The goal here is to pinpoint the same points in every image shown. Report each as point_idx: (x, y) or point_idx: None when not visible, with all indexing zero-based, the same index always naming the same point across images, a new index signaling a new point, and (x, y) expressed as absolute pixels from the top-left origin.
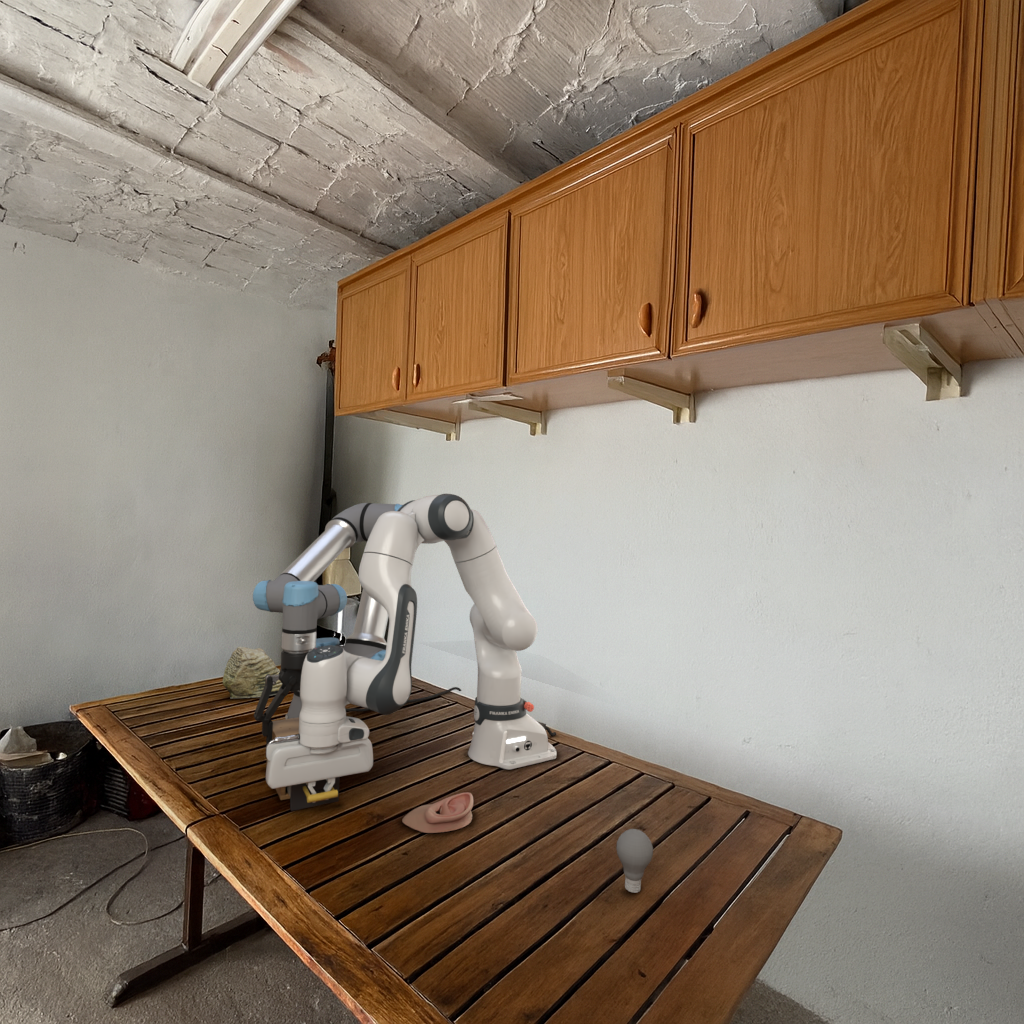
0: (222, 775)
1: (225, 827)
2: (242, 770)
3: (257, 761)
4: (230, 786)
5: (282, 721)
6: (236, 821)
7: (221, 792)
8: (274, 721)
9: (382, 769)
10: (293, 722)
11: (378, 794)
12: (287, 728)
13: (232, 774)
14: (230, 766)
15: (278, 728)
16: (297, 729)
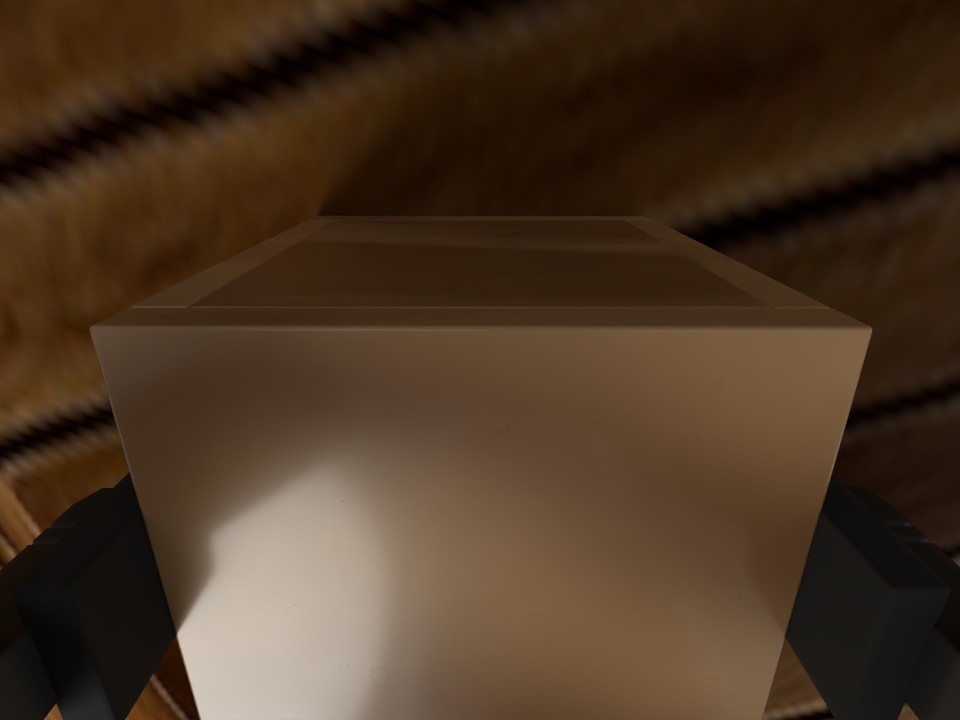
0: (23, 195)
1: (136, 713)
2: (151, 165)
3: (255, 27)
4: (103, 379)
5: (314, 411)
6: (174, 692)
7: (65, 432)
8: (192, 364)
9: (948, 504)
10: (462, 510)
11: (768, 705)
12: (353, 661)
13: (90, 207)
14: (51, 41)
15: (246, 626)
16: (460, 716)
